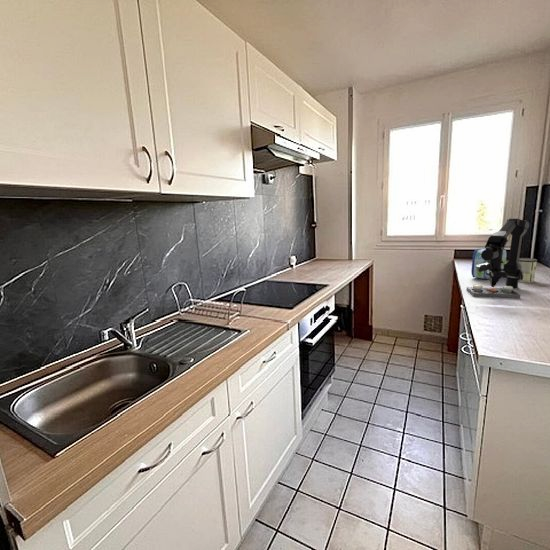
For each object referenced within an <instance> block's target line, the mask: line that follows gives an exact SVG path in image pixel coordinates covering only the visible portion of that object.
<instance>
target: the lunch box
mask: <svg viewBox="0 0 550 550" xmlns="http://www.w3.org/2000/svg"><path fill="white" fill-rule="evenodd" d="M484 250H486V248H485V247H483V248H477V249H475V250H474V251H473V255H472V259H471V260H472V261H471V277H473V278H477V279H482V280H490V278H489V276H488V275H487V274H486V273H487V272H488V271H483V272H478V271H477V269H476V265H479V264H483V263H487V261H486V260H483V259H482V257H481V253H482V252H483V251H484ZM507 255H508V254H507V250H506V248H504V250H503V257H502V261H503V263H502V265H501V268H502V270H503V268H504V264H506V263H507Z"/></svg>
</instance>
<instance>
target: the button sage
mask: <svg viewBox="0 0 550 550" xmlns="http://www.w3.org/2000/svg"><path fill="white" fill-rule="evenodd" d="M502 288H503V292H512V290H513V291H514V289H513V287H511V286H506V285H503V286H502Z"/></svg>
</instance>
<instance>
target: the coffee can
mask: <svg viewBox="0 0 550 550" xmlns="http://www.w3.org/2000/svg"><path fill="white" fill-rule="evenodd" d="M519 263H520V265H521V270H522V272H523V275H524V276H523V280H519V281H518V283H534V282H535V277H536V271H537V270H536V268H537V263H538V259H536V258H530V257H519Z"/></svg>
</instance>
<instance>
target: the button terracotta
mask: <svg viewBox="0 0 550 550" xmlns="http://www.w3.org/2000/svg"><path fill="white" fill-rule="evenodd" d="M486 288H487V290H488V292H497V288H498V287H495V286H494V287H491V286H489V287H486Z"/></svg>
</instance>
